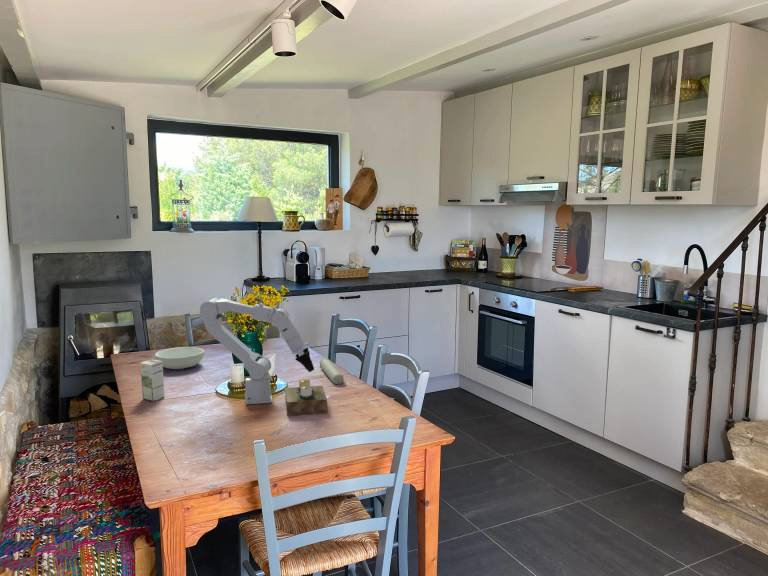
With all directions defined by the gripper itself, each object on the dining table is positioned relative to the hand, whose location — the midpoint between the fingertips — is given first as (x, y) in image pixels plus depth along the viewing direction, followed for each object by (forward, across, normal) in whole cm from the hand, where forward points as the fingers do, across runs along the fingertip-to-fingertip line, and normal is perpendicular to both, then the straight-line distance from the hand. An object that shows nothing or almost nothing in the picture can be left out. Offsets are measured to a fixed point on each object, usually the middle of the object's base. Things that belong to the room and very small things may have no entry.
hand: (311, 369), depth 216 cm
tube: (+13, +31, -4) cm, 34 cm away
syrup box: (-20, +14, +57) cm, 62 cm away
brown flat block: (+10, -4, +9) cm, 14 cm away
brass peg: (+7, 0, +7) cm, 9 cm away
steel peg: (+8, -8, +7) cm, 13 cm away
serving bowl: (-23, +57, +52) cm, 80 cm away
